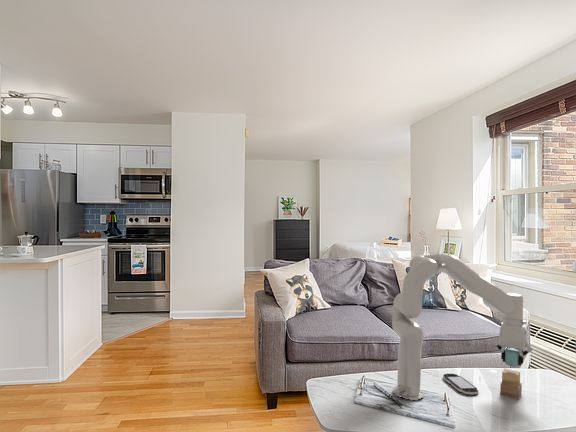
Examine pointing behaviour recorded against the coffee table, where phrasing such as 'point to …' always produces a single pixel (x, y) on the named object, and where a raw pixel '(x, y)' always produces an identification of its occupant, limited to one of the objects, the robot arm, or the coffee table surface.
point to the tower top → (511, 377)
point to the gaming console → (460, 384)
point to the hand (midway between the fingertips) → (512, 362)
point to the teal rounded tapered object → (512, 357)
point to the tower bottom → (511, 391)
